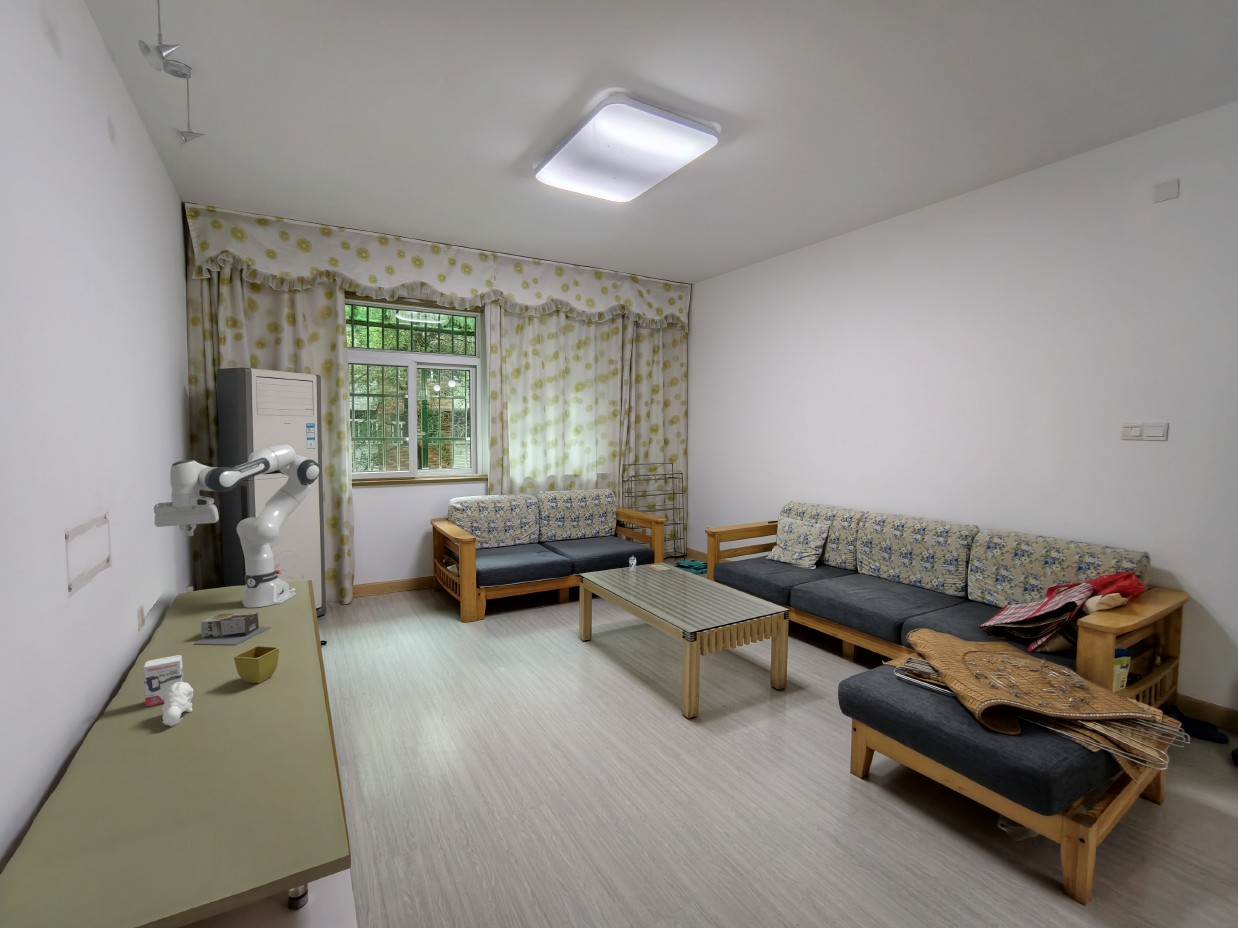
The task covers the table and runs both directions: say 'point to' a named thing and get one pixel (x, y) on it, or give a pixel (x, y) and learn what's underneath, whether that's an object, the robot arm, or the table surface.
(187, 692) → the white figurine
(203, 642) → the mat
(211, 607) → the table surface
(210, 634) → the coffee box
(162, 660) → the ink box
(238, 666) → the flower pot
